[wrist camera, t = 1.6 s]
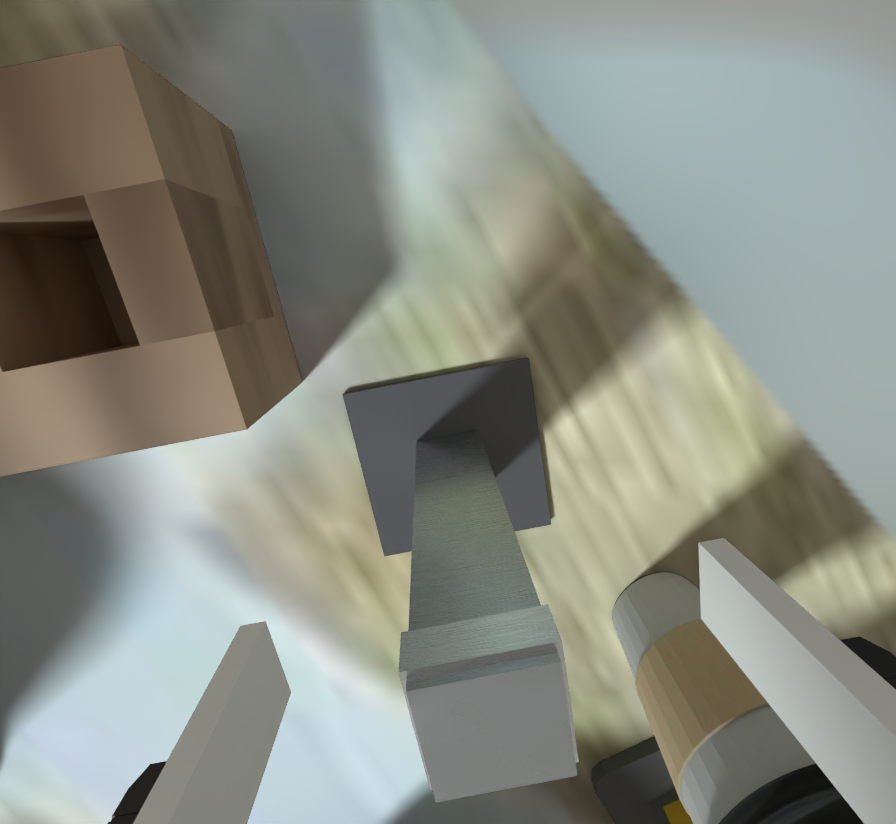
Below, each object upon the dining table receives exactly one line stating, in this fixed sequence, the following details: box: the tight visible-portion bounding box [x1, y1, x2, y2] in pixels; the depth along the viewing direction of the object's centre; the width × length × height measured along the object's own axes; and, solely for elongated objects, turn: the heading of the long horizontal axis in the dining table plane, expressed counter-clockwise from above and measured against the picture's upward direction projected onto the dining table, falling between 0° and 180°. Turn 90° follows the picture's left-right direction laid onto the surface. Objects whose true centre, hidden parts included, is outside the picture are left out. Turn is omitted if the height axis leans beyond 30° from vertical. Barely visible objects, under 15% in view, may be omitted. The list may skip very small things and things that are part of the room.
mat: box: [343, 358, 551, 556], centre depth 26 cm, size 10×10×1 cm
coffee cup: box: [612, 572, 864, 824], centre depth 23 cm, size 9×9×15 cm
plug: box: [399, 429, 579, 803], centre depth 18 cm, size 4×4×16 cm
